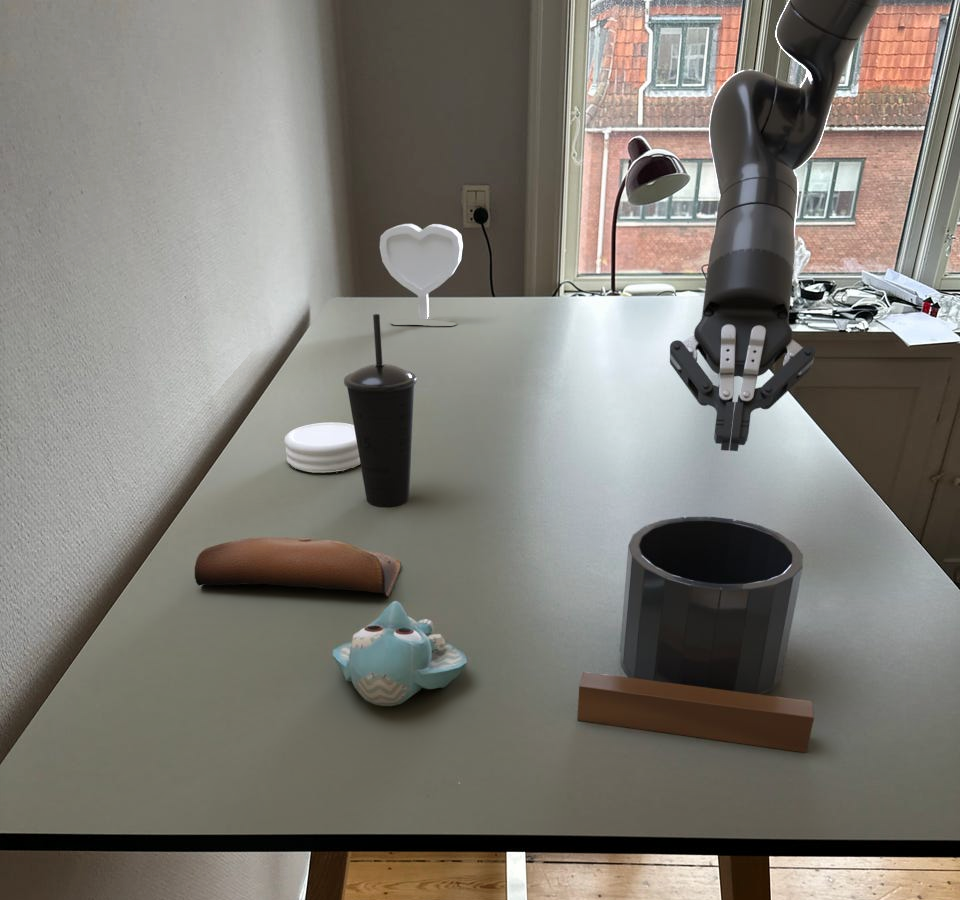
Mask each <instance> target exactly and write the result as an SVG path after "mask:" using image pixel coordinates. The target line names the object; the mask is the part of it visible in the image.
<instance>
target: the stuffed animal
mask: <svg viewBox="0 0 960 900" xmlns="http://www.w3.org/2000/svg"><path fill="white" fill-rule="evenodd" d="M434 629H435V626H434V623H433V621H432V620H430V619H427V618H424V619H420V620H418V621H417V620H416V619H414V618H412V617H410V616H408V615H407V613H406V611H405V609H404V608H403V605H402V604H401V602H400V601H398V600H393V601H391V602H390V604H388V606H386V607H385V609H384V610H383V611H382V612H381V614H380V616H379V617H378V618H376V619H374V620H373V621H372V622H371V623H369V624H368V625H366V626H365V627H363V628H361V629H360V630H358V631H356V632H355V633H354V634H353V635H352V638H351V641H349V642H345V643H343V644H342V645H339V646H338V647H336V648H334V649H332V657H333V659H334V660H335V663H336V664H337V667H338V669H339V670H340V671H341V673H342V674H343V676H344V679H345V681H346V682H350V683H352V685H353V687H354V689H355V690H356V691H357V692H358V694H359V695H360V696H361V697H362V698H363V700H364V701H366V702H368V703H370V704H372V705H376V706H381V707H394V706H397V705H398V706H399V705H401V704H403V703H405V702H406V701H407V700H408V699H410V698H411V697H412V696H414V695H415V694H417V693H418V692H419V691H421V689H425V690H434V689H438V688H443V689H444V688H445V687H446V686H448V685H449V684H450V683H451V682H452V681H453V680H454V679H456V678H458V677H459V676H460V675H461V673H462V671H463V670H464V668H465V666H467V663H468V661H467V660H468V659H467V657H466V655H465V653H464V652H462V651H461V650H459V649H458V648H456V647H455V646H454V645H452V644H450V643H448V642H446V641H445V638H444V637H443V635H441V634H440V633H433V632H434ZM433 652H434V653H433Z"/></svg>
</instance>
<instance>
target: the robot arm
mask: <svg viewBox="0 0 960 900" xmlns="http://www.w3.org/2000/svg"><path fill="white" fill-rule="evenodd" d="M882 2H883V0H788V1H787V2H786V5H785V7H784V9H783V11H782V13H781V15H780V17H779V19H778V22H777V24H776V29H775V38H776V41H777V44H778V45H779V46H780V48H781V49H782V50H783V51H784V52H785V54H787V55H788V56H789V57H790V58H792V59H793V60H794V61H795V62H797V63H798V64H799V65H801V67H803V68H804V69H805V70H806V74H805V77H804V79H803V82H802V83H801V85H800V86H798V85H797V84H796V85H795V84H793V83H791V82H788V81H786V80H783V79H780V78H777V77H775V76H773V75H770V74H768V73H765V72H762V71H759V70H756V69H743V70H741V71H738V72H736V73H734V74H732V76H730V77H729V78H728V79H727V80H726V81H725V82H724V83H723V85H722V86H721V87H720V88H719V90H718V92H717V93H716V96H715V99H714V101H713V104H712V106H711V111H710V116H709V127H708V133H709V134H708V135H709V136H708V137H709V146H710V151H711V157H712V161H713V167H714V170H715V177H716V182H717V183H716V184H717V187H718V192H719V199H718V206H717V213H716V214H717V215H716V224H715V231H714V234H713V238H712V241H711V245H710V250H709V257H708V265H707V269H706V280H705V289H704V297H703V305H702V312H701V313H702V314H701V319H700V321H699V322H698V324H697V325H696V326H695V328H694V331H693V335H692V336H690V337H689V338H688V339H686V340H684V341H681V340H673V341H672V342H671V343H670V345H669V364H670V365H671V367H672V368H673V370H674V371H675V372H676V374H677V376H678V377H679V378H680V379H681V381H682V382H683V383H684V385H685V386H686V388H687V389H688V390H689V392H690V393H691V394H692V396H693V397H694V399H695V400H696V401H697V403H698V404H699V405H701V406H703V407H706V406H710V407H712V408H714V410H715V411H716V418H715V427H714V434H713V440H714V443H715V444H717V445H718V444H719V445H720V451H726V452H728V451H730V452H738V451H739V446H746V443H747V442H748V438H749V433H750V425H751V424H750V423H751V413H752V412H753V411H754V410H757V409H761V410H768V409H770V408H772V407H773V406H774V405H775V404H776V403H777V402H778V401H779V400H780V399H781V398H783V396H784V395H785V394H786V393H787V392H789V391H790V390H791V389H792V388H793V387H795V385H796V384H797V383H798V382H800V380H801V379H802V378H803V377H804V376H806V375H807V374H808V372H810V371H811V368H812V365H813V363H814V359H815V354H816V349H815V348H814V347H813V346H811V345H805V346H802V345H801V344H799V343H798V342H797V341H796V340H794V339H793V338H794V330H793V329H792V327H791V325H790V321H789V320H790V319H789V318H790V308H791V307H790V306H791V297H792V289H793V288H792V287H793V277H794V273H795V267H794V266H795V258H796V236H795V235H796V233H795V232H796V231H795V229H796V220H797V210H798V200H799V182H798V177H797V174H796V173H795V171H796V170H797V169H799V168H801V167H802V166H803V165H804V164H806V163H807V162H808V161H809V160H810V159H811V157H813V155H814V154H815V152H816V150H817V149H818V147H819V145H820V142H821V140H822V137H823V134H824V131H825V128H826V126H827V122H828V118H829V116H830V111H831V109H832V105H833V102H834V99H835V96H836V93H837V90H838V88H839V86H840V82H841V80H842V77H843V74H844V72H845V69H846V68H847V64H848V62H849V60H850V58H851V55H852V53H853V51H854V49H855V48H856V45H857V44H858V42H859V41H860V39H861V37H862V36H863V34H864V32H865V30H866V29H867V26H868V25H869V24H870V22H871V21H872V19H873V17H874V15H875V14H876V12H877V10H878V8H879V7H880V5H881V4H882ZM697 351H698V352H699V354H700V355H701V356H702V358H703V359H704V360H705V362H706V363H707V365H708V367H709V368H710V369H711V370H712V371H713V372H714V373H715V374H717V375H718V377H717V385H716V384H713V382H712V380H711V379H710V378H709V376H708V375H707V374H706V372H705V370H704V369H703V367H701V365H700V364H699V363H698V352H697ZM784 355H785V356H784ZM782 356H784V358H783V362H782V366H781V367H780V368H779V370H777V371H776V372H775V373H774V374H773V375H772V376H771V377H770V378H768V380H767V381H765V383H764V384H763V385H762V386H760V387H756V386H757V380H758V377H760V376H762V375H764V374H765V373H767V372H768V371H769V370H770V368H772V367H773V365H775V364H776V363H777V361H778V360H780V359H781V358H782ZM735 377H741V378H742V379H741V384H740V389H739V392H738V393H739V394H738V396H737V400H736V401H733V400H734V390H735Z"/></svg>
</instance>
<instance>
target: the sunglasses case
mask: <svg viewBox="0 0 960 900" xmlns="http://www.w3.org/2000/svg"><path fill="white" fill-rule="evenodd" d="M401 570H402V562H401V561H400V560H399V559H396V558H393V557H391V556H388V555H387V554H383V553H380V552H375V551H371V550H365V549H361V548H359V547H357V546H354V545H351V544H349V543H345V542H342V541H338V540H331V539H311V538H309V537H299V538H298V537H297V538H295V537H262V536H261V537H253V538H252V537H251V538H243V539H238V540H233V541H231V540H230V541H228V542H227V541H225V542H223V543H219V544H215V545H213V546H209V547H206V548H204V549H203V550H201V552H199V554H198V556H197V557H196V559H195V564H194V579H195V583H196V585H197V586H200V585H202V586H203V585H204V586H205V585H206V586H208V585H209V586H210V585H211V586H212V585H215V586H217V585H218V586H221V585H234V586H238V585H242V584H244V585H250V586H251V585H261V584H263V585H264V584H267V585H272V586H283V587H300V588H301V587H303V588H304V587H305V588H307V587H308V588H309V587H311V588H316V589H328V590H329V589H330V590H346V591H358V592H371V593H375V594H377V593H382V594H383V596H385V597H390V595H391V594H392V592H393V590H394V587H395V585H396V582H397V580H398V577H399V575H400V571H401ZM200 587H201V586H200Z"/></svg>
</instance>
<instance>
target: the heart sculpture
mask: <svg viewBox="0 0 960 900" xmlns="http://www.w3.org/2000/svg"><path fill="white" fill-rule="evenodd" d="M463 248H464V243H463V237H462V234H461V233H460V232H459V231H458V230H457V229H456V228H453V227H451V226H449V225H444V224H440V223H432V224H430V225H427V226H425V227H424V228H423V229H422V228H421V227H420V226H418V225H416V224H414V223H402V224H399V225H396V226H393V227H391V228H388V229H387V230H384V232H383V233H382V234H381V235H380V237H379V251H380V256H381V262H382V264H383V265H384V267H385V268H386V270H387V271H388V274H389V275H390V276H391V277H392V278H393V279H394V280H395V281H397V283H399V284H400V285H402V287H404V288H406V289H407V290H409V291H410V292H412V293H413V294H415V295H416V296H417V302H418V303H417V304H418V319H419V318H424V319H428V317H429V318H430V306H429V305H430V304H429V294H430V293H431V292H432V291H434V290H436V289H438V288H439V287H440V286H441V285H443V284H445V282H446V281H447V280H448V279H449V278H451V277H452V276H453V275H454V273H455V272H456V270H457V268H458V266H459V265H460V263H461V261H462V255H463Z"/></svg>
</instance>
